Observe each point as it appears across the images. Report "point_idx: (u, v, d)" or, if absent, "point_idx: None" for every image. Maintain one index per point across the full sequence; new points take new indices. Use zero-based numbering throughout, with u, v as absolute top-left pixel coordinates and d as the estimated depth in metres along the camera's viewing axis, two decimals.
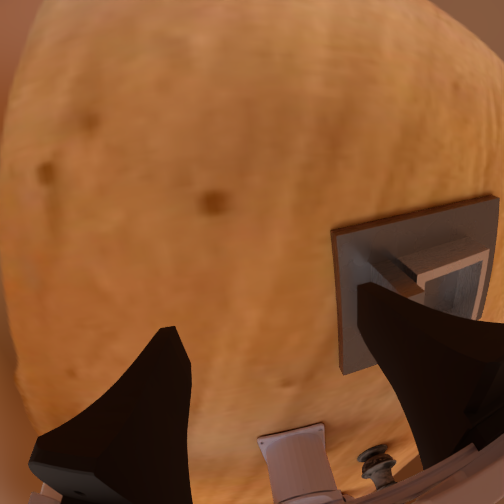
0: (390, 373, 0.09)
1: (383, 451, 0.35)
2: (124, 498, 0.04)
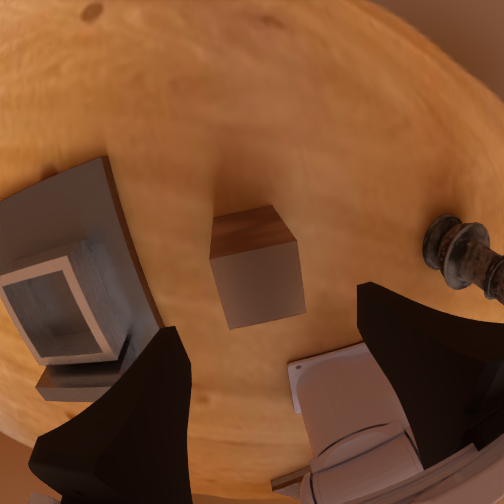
0: (390, 373, 0.09)
1: (447, 225, 0.21)
2: (124, 498, 0.04)
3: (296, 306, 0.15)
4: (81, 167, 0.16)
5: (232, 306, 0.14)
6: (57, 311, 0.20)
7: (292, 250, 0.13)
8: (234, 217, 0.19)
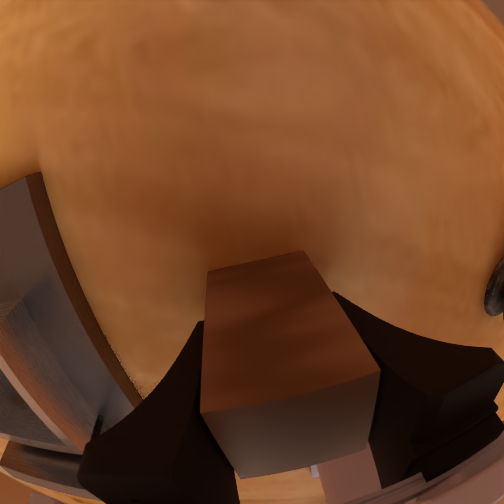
0: None
1: None
2: (195, 501, 0.04)
3: (353, 446, 0.07)
4: (2, 193, 0.09)
5: (246, 461, 0.07)
6: None
7: (368, 385, 0.06)
8: (243, 276, 0.11)
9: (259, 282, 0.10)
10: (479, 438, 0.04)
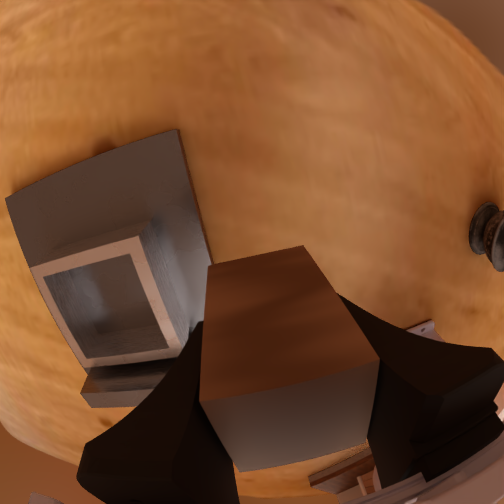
0: None
1: (489, 212, 0.20)
2: (195, 501, 0.04)
3: (353, 439, 0.07)
4: (151, 139, 0.16)
5: (246, 453, 0.07)
6: (106, 305, 0.19)
7: (368, 375, 0.06)
8: (243, 269, 0.11)
9: (259, 275, 0.10)
10: (479, 438, 0.04)
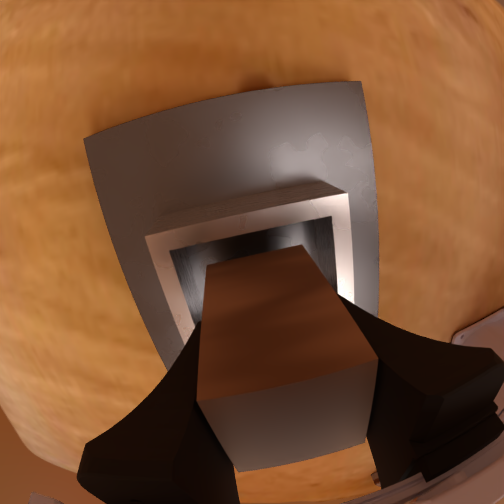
0: None
1: None
2: (195, 501, 0.04)
3: (352, 439, 0.07)
4: (333, 85, 0.12)
5: (244, 453, 0.07)
6: None
7: (366, 374, 0.06)
8: (241, 268, 0.11)
9: (257, 274, 0.10)
10: (479, 438, 0.04)
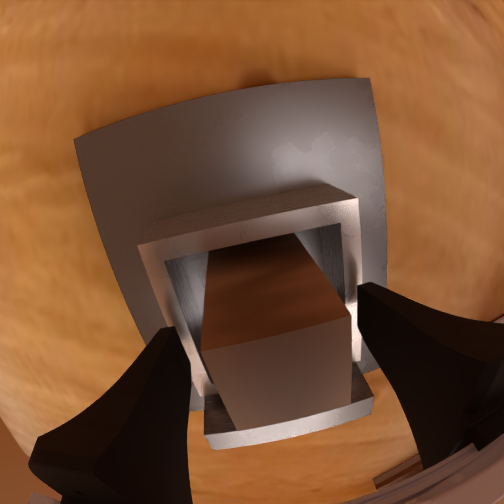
0: (390, 373, 0.09)
1: None
2: (124, 498, 0.04)
3: (338, 398, 0.09)
4: (340, 82, 0.11)
5: (241, 408, 0.08)
6: None
7: (342, 330, 0.07)
8: (239, 251, 0.13)
9: (253, 255, 0.12)
10: None
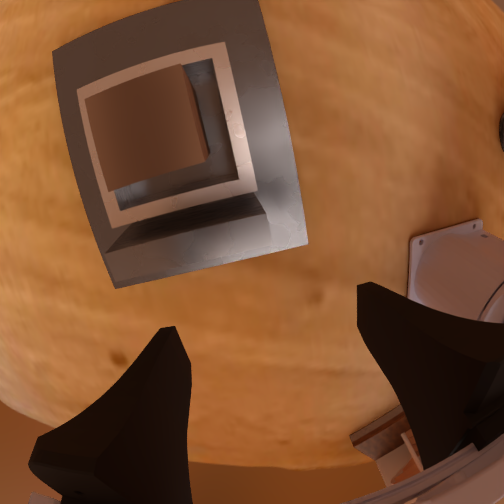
0: (390, 373, 0.09)
1: None
2: (124, 498, 0.04)
3: (189, 151, 0.10)
4: None
5: (109, 156, 0.10)
6: None
7: (176, 75, 0.09)
8: None
9: None
10: None
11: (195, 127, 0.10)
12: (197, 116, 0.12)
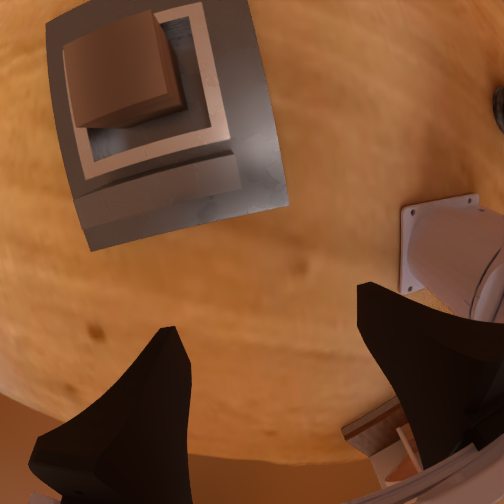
0: (390, 373, 0.09)
1: None
2: (124, 498, 0.04)
3: (153, 84, 0.09)
4: None
5: (79, 94, 0.09)
6: None
7: (145, 18, 0.08)
8: None
9: None
10: None
11: (160, 62, 0.09)
12: (169, 63, 0.11)
